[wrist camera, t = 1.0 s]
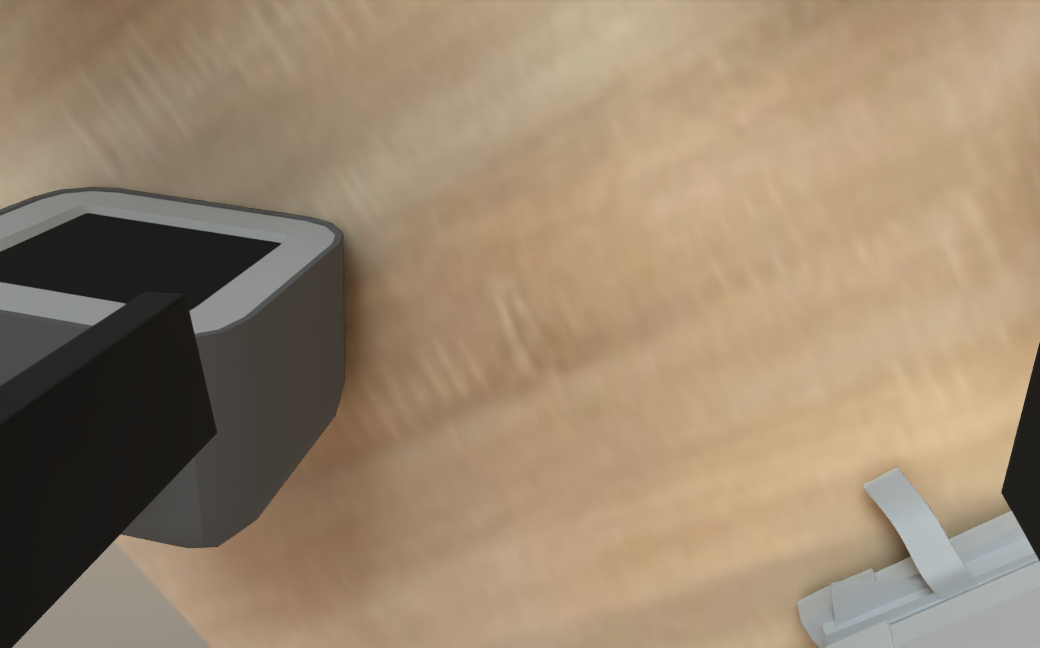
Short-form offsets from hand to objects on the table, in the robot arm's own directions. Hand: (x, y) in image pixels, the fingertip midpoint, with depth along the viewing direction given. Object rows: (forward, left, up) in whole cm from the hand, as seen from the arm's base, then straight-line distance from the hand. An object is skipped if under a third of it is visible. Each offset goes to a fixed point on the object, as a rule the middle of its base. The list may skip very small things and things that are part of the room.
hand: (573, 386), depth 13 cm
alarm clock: (+2, -26, -27) cm, 37 cm away
